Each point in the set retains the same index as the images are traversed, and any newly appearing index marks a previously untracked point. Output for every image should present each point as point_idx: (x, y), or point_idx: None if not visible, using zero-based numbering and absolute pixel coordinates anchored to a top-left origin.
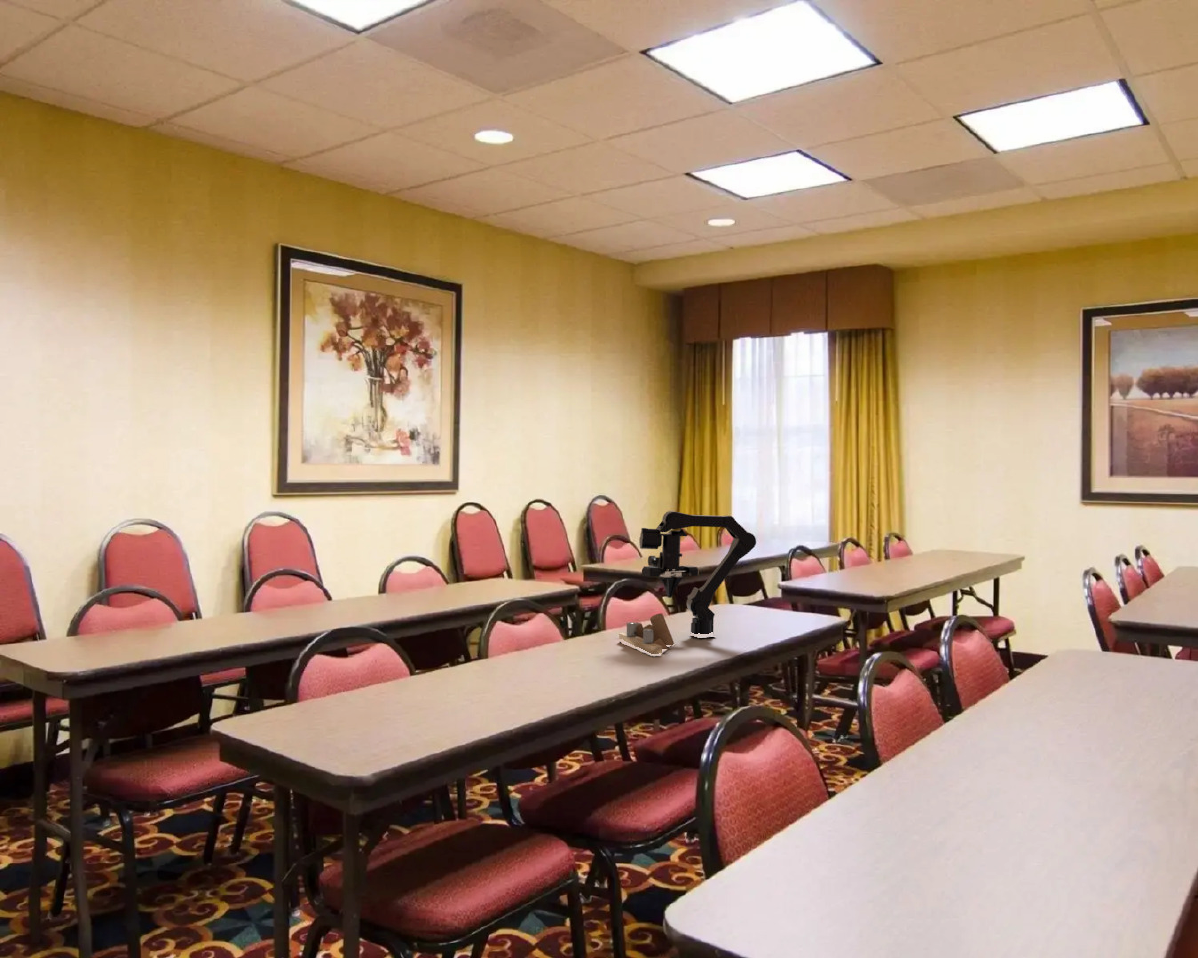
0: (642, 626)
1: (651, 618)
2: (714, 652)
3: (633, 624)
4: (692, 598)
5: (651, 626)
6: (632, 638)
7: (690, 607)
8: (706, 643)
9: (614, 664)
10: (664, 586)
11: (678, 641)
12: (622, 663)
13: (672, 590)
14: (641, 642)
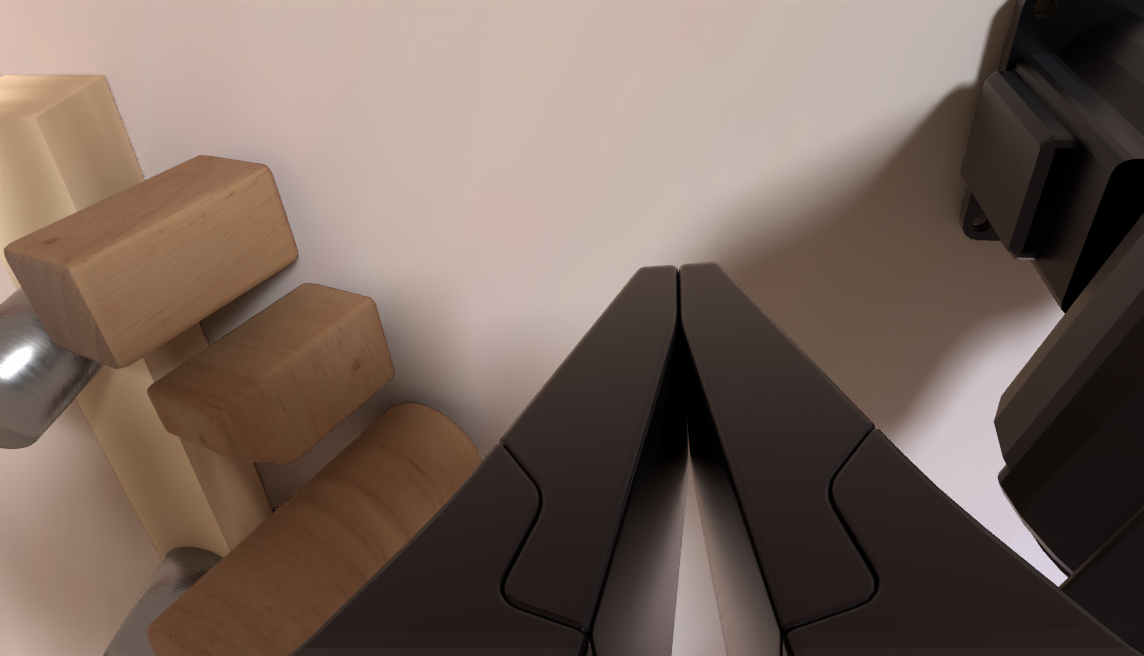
0: (154, 348)
1: (157, 652)
2: (704, 633)
3: (11, 443)
4: (1092, 614)
5: (239, 457)
6: (84, 406)
7: (1001, 437)
8: (877, 404)
9: (6, 634)
10: (481, 480)
11: (671, 235)
12: (50, 634)
13: (713, 563)
14: (152, 542)
